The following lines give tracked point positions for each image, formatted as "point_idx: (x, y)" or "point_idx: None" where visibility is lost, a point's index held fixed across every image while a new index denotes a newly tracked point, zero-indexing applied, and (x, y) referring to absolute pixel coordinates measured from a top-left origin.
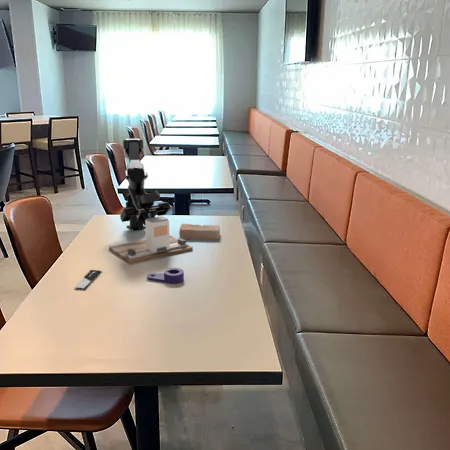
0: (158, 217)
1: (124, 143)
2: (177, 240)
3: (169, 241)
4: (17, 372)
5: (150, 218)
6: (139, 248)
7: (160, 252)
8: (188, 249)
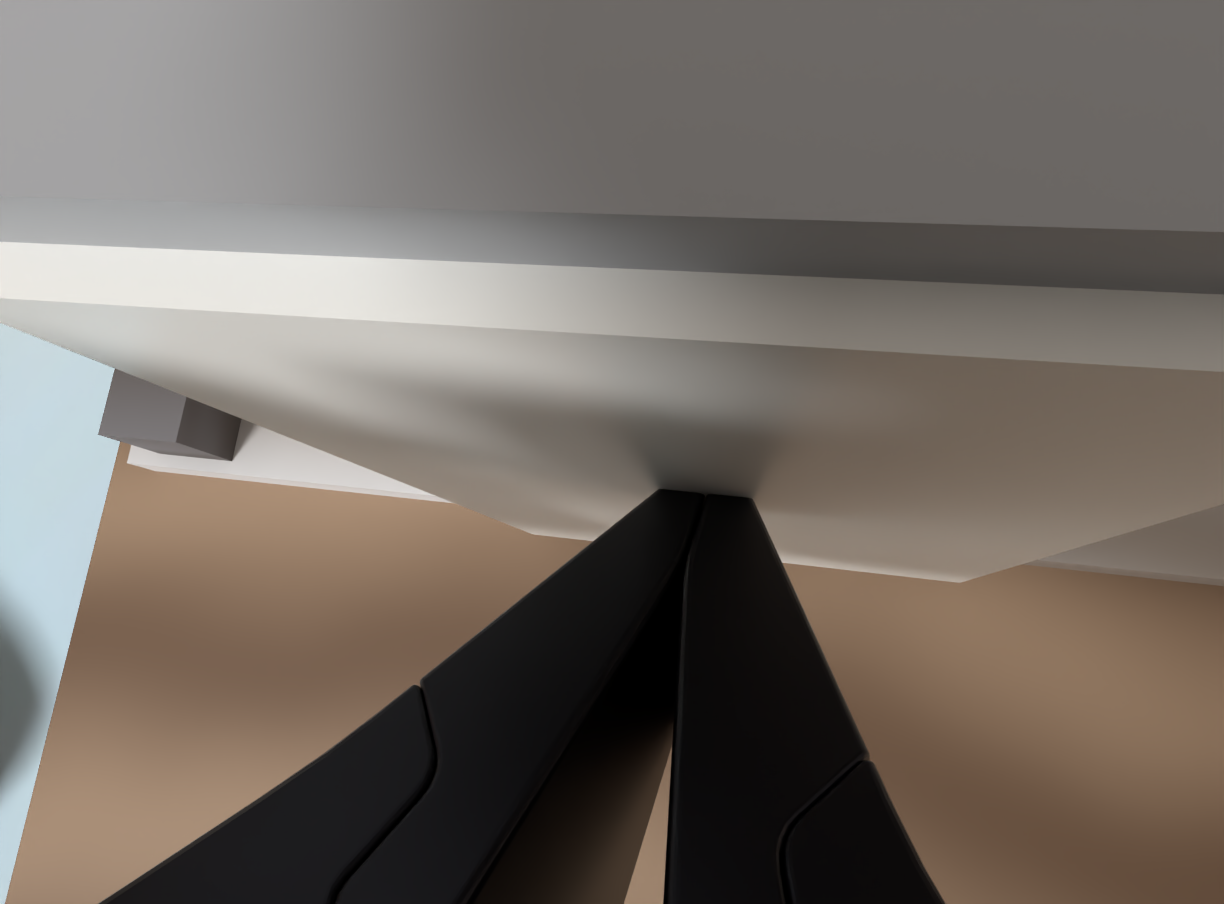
0: (306, 15)
1: None
2: (92, 685)
3: (230, 746)
4: None
5: (1094, 90)
6: (996, 836)
7: None
8: None
